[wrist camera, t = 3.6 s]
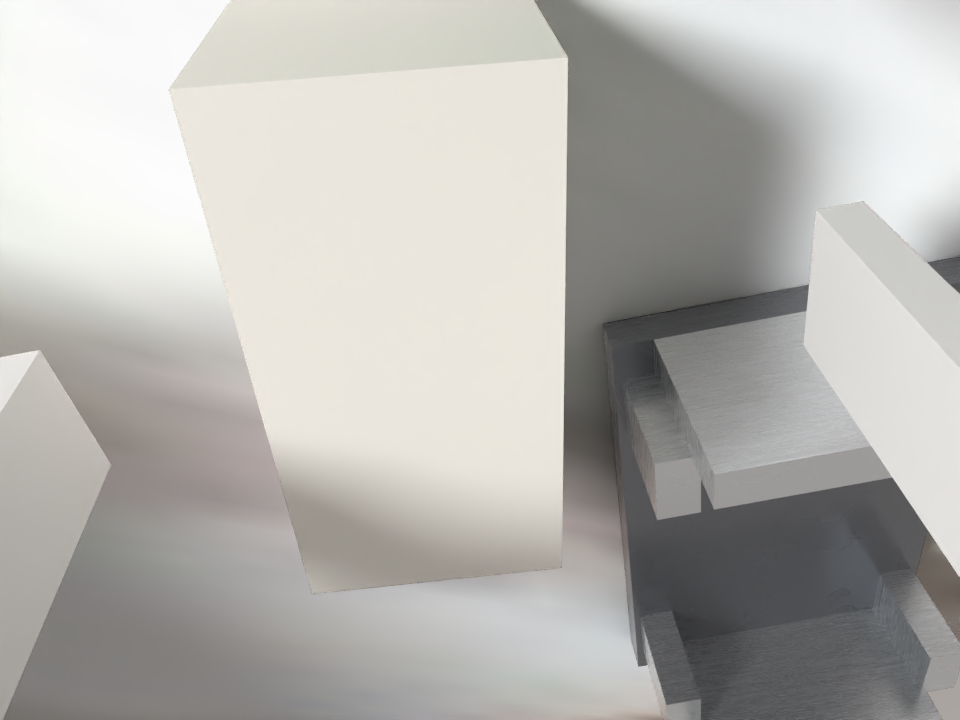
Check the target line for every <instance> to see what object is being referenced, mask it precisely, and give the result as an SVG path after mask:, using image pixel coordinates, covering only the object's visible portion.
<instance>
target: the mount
mask: <svg viewBox="0 0 960 720" xmlns="http://www.w3.org/2000/svg"><path fill="white" fill-rule="evenodd" d="M928 264H929V265H930V266H931V267H932V268H933V269H934V270H935V271H936V272H937V273H938V274H939V275H940V276H941V277H942V278H943V279H944V280H945V281H946V282H947V283H948V284H949V285H950V286H951V287H952V288H953V289H955V290H956V291H957V292H958V293H959V294H960V257H956V258H951V259H946V260H940V261H935V262H930V263H928ZM808 291H809V285H807V286H802V287H797V288H791V289H786V290H781V291H775V292H770V293H765V294H759V295H754V296H749V297H744V298H738V299H733V300H728V301H722V302H717V303H712V304H706V305H701V306H696V307H690V308H685V309H680V310H674V311H669V312H664V313H658V314H653V315H648V316H642V317H637V318H632V319H626V320H621V321H616V322H610V323H605V324H603V331H604V342H605V354H606V365H607V376H608V387H609V398H610V409H611V420H612V431H613V442H614V454H615V465H616V476H617V487H618V498H619V509H620V520H621V531H622V542H623V554H624V565H625V576H626V587H627V598H628V609H629V620H630V631H631V641H632V645H633V649H634V652H635V656H636V660H637V663H638V667H639V666H645V665H648V668H649V672H650V675H651V679H652V682H653V686H654V689H655V693H656V696H657V700H658V703H659V707H660V711H661V714H662V718H663V720H943V719H942V717H941V715H940V714H939V712H938V710H937V708H936V707H935V705H934V703H933V701H932V700H931V698H930V696H929V695H928V693H927V692H930V691H935V690H941V689H947V688H953V687H954V686H955V683H956V680H957V677H958V674H959V671H960V643H959V642H958V640H957V639H956V637H955V635H954V634H953V632H952V631H951V629H950V628H949V626H948V625H947V623H946V622H945V620H944V618H943V617H942V615H941V614H940V612H939V611H938V609H937V608H936V606H935V604H934V603H933V601H932V600H931V598H930V597H929V595H928V594H927V592H926V590H925V589H924V587H923V586H922V584H921V583H920V581H919V580H918V578H917V577H916V572H917V568H918V564H919V560H920V556H921V553H922V549H923V545H924V541H925V537H926V533H927V528H926V527H925V525H924V524H923V522H922V521H921V519H920V518H919V516H918V515H917V513H916V512H915V510H914V509H913V507H912V506H911V504H910V503H909V501H908V500H907V498H906V497H905V495H904V494H903V492H902V491H901V489H900V488H899V486H898V485H897V483H896V482H895V481H894V479H893V478H892V476H891V475H890V473H889V472H888V470H887V469H886V467H885V466H884V464H883V463H882V461H881V460H880V458H879V457H878V455H877V454H876V452H875V451H874V449H873V448H872V446H871V445H870V443H869V442H868V440H867V439H866V437H865V436H864V434H863V433H862V431H861V430H860V428H859V427H858V425H857V424H856V423H855V421H854V420H853V418H852V417H851V415H850V414H849V412H848V411H847V409H846V408H845V406H844V405H843V403H842V402H841V400H840V399H839V397H838V396H837V394H836V393H835V391H834V390H833V388H832V387H831V385H830V384H829V382H828V381H827V379H826V378H825V376H824V375H823V373H822V372H821V370H820V369H819V368H818V366H817V365H816V363H815V362H814V360H813V359H812V357H811V356H810V354H809V353H808V351H807V350H806V348H805V347H804V345H803V343H804V333H805V322H806V312H807V301H808Z"/></svg>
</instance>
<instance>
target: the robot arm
mask: <svg viewBox="0 0 960 720" xmlns="http://www.w3.org/2000/svg"><path fill="white" fill-rule="evenodd" d="M803 345H804V347H805V348H806V350H807V351H808V353H809V354H810V356H811V357H812V359H813V360H814V362H815V363H816V365H817V366H818V368H819V369H820V370H821V372H822V373H823V375H824V376H825V378H826V379H827V381H828V382H829V384H830V385H831V387H832V388H833V390H834V391H835V393H836V394H837V396H838V397H839V399H840V400H841V402H842V403H843V405H844V406H845V408H846V409H847V411H848V412H849V414H850V415H851V417H852V418H853V420H854V421H855V423H856V424H857V425H858V427H859V428H860V430H861V431H862V433H863V434H864V436H865V437H866V439H867V440H868V442H869V443H870V445H871V446H872V448H873V449H874V451H875V452H876V454H877V455H878V457H879V458H880V460H881V461H882V463H883V464H884V466H885V467H886V469H887V470H888V472H889V473H890V475H891V476H892V478H893V479H894V481H895V482H896V483H897V485H898V486H899V488H900V489H901V491H902V492H903V494H904V495H905V497H906V498H907V500H908V501H909V503H910V504H911V506H912V507H913V509H914V510H915V512H916V513H917V515H918V516H919V518H920V519H921V521H922V522H923V524H924V525H925V527H926V528H927V530H928V531H929V533H930V534H931V536H932V537H933V538H934V540H935V541H936V543H937V544H938V546H939V547H940V549H941V550H942V552H943V553H944V555H945V556H946V558H947V559H948V561H949V562H950V564H951V565H952V567H953V568H954V570H955V571H956V573H957V574H958V576H959V577H960V294H959V293H958V292H957V291H956V290H955V289H953V288H952V287H951V286H950V285H949V284H948V283H947V282H946V281H945V280H944V279H943V278H942V277H941V276H940V275H939V274H938V273H937V272H936V271H935V270H934V269H933V268H932V267H931V266H930V265H929V264H928V263H927V262H926V261H925V260H924V259H923V258H922V257H921V256H920V255H918V254H917V253H916V252H915V251H914V250H913V249H912V248H911V247H910V246H909V245H908V244H907V243H906V242H905V241H904V240H903V239H902V238H901V237H900V236H899V235H898V234H897V233H896V232H895V231H894V230H893V229H892V228H891V227H890V226H889V225H888V224H887V223H886V222H885V221H883V220H882V219H881V218H880V217H879V216H878V215H877V214H876V213H875V212H874V211H873V210H872V209H871V208H870V207H869V206H868V205H867V204H866V203H865V202H864V201H862V202H857V203H851V204H846V205H840V206H834V207H829V208H823V209H818V210H816V217H815V228H814V238H813V249H812V259H811V270H810V280H809V291H808V301H807V312H806V322H805V333H804V343H803ZM110 467H111V464H110V462H109V460H108V459H107V457H106V456H105V454H104V452H103V451H102V449H101V448H100V446H99V444H98V443H97V441H96V440H95V438H94V436H93V435H92V433H91V431H90V430H89V428H88V427H87V425H86V423H85V422H84V420H83V419H82V417H81V415H80V414H79V412H78V411H77V409H76V407H75V406H74V404H73V402H72V401H71V399H70V398H69V396H68V394H67V393H66V391H65V390H64V388H63V386H62V385H61V383H60V382H59V380H58V378H57V377H56V375H55V373H54V372H53V370H52V369H51V367H50V365H49V364H48V362H47V361H46V359H45V357H44V356H43V354H42V353H41V351H40V350H37V351H32V352H26V353H21V354H15V355H10V356H4V357H0V720H3V718H4V716H5V713H6V711H7V709H8V706H9V704H10V702H11V699H12V697H13V695H14V692H15V690H16V688H17V685H18V683H19V681H20V678H21V676H22V673H23V671H24V669H25V666H26V664H27V662H28V659H29V657H30V655H31V652H32V650H33V648H34V645H35V643H36V641H37V638H38V636H39V634H40V631H41V629H42V627H43V624H44V622H45V619H46V617H47V615H48V612H49V610H50V608H51V605H52V603H53V601H54V598H55V596H56V594H57V591H58V589H59V587H60V584H61V582H62V580H63V577H64V575H65V573H66V570H67V568H68V565H69V563H70V561H71V558H72V556H73V554H74V551H75V549H76V547H77V544H78V542H79V540H80V537H81V535H82V533H83V530H84V528H85V526H86V523H87V521H88V519H89V516H90V514H91V511H92V509H93V507H94V504H95V502H96V500H97V497H98V495H99V493H100V490H101V488H102V486H103V483H104V481H105V479H106V476H107V474H108V472H109V469H110Z"/></svg>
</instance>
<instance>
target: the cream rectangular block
mask: <svg viewBox="0 0 960 720" xmlns="http://www.w3.org/2000/svg"><path fill="white" fill-rule="evenodd" d="M169 92H170V95H171V99H172V102H173V106H174V109H175V113H176V116H177V120H178V124H179V127H180V131H181V134H182V138H183V141H184V145H185V148H186V152H187V155H188V159H189V162H190V166H191V169H192V173H193V176H194V180H195V183H196V187H197V190H198V194H199V198H200V201H201V205H202V208H203V212H204V215H205V219H206V222H207V226H208V229H209V233H210V236H211V240H212V243H213V247H214V250H215V254H216V257H217V261H218V264H219V268H220V271H221V275H222V279H223V282H224V286H225V289H226V293H227V296H228V300H229V303H230V307H231V310H232V314H233V317H234V321H235V324H236V328H237V331H238V335H239V338H240V342H241V345H242V349H243V353H244V356H245V360H246V363H247V367H248V370H249V374H250V377H251V381H252V384H253V388H254V391H255V395H256V398H257V402H258V405H259V409H260V412H261V416H262V419H263V423H264V426H265V430H266V434H267V437H268V441H269V444H270V448H271V451H272V455H273V458H274V462H275V465H276V469H277V472H278V476H279V479H280V483H281V486H282V490H283V493H284V497H285V500H286V504H287V507H288V511H289V515H290V518H291V522H292V525H293V529H294V532H295V536H296V539H297V543H298V546H299V550H300V553H301V557H302V560H303V564H304V567H305V571H306V574H307V578H308V581H309V585H310V589H311V592H312V594H317V593H327V592H336V591H346V590H355V589H365V588H375V587H384V586H394V585H403V584H413V583H423V582H432V581H442V580H451V579H461V578H470V577H480V576H490V575H499V574H509V573H518V572H528V571H538V570H547V569H557V568H562V514H563V431H564V349H565V267H566V184H567V102H568V56H567V55H566V53H565V51H564V50H563V48H562V46H561V45H560V43H559V41H558V40H557V38H556V36H555V35H554V33H553V31H552V30H551V28H550V26H549V25H548V23H547V21H546V20H545V18H544V16H543V14H542V13H541V11H540V9H539V8H538V6H537V4H536V3H535V1H534V0H230V2H229V3H228V5H227V6H226V8H225V9H224V11H223V12H222V13H221V15H220V16H219V18H218V19H217V21H216V22H215V24H214V25H213V26H212V28H211V29H210V31H209V32H208V34H207V35H206V37H205V38H204V39H203V41H202V42H201V44H200V45H199V47H198V48H197V50H196V51H195V52H194V54H193V55H192V57H191V58H190V60H189V61H188V63H187V64H186V65H185V67H184V68H183V70H182V71H181V73H180V74H179V76H178V77H177V78H176V80H175V81H174V83H173V84H172V86H171V87H170V89H169Z"/></svg>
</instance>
